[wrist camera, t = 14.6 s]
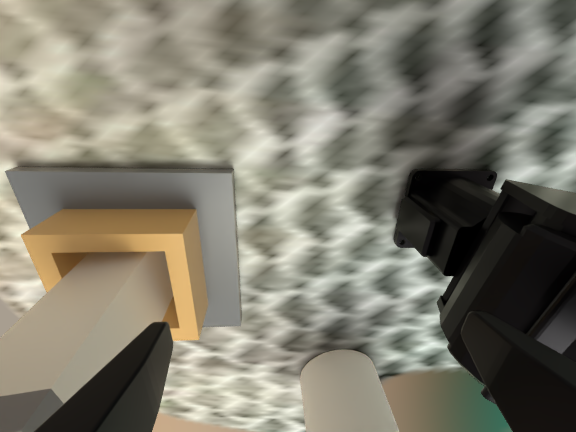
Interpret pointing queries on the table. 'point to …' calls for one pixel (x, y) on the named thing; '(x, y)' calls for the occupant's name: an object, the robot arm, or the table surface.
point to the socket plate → (140, 231)
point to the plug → (78, 332)
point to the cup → (344, 394)
